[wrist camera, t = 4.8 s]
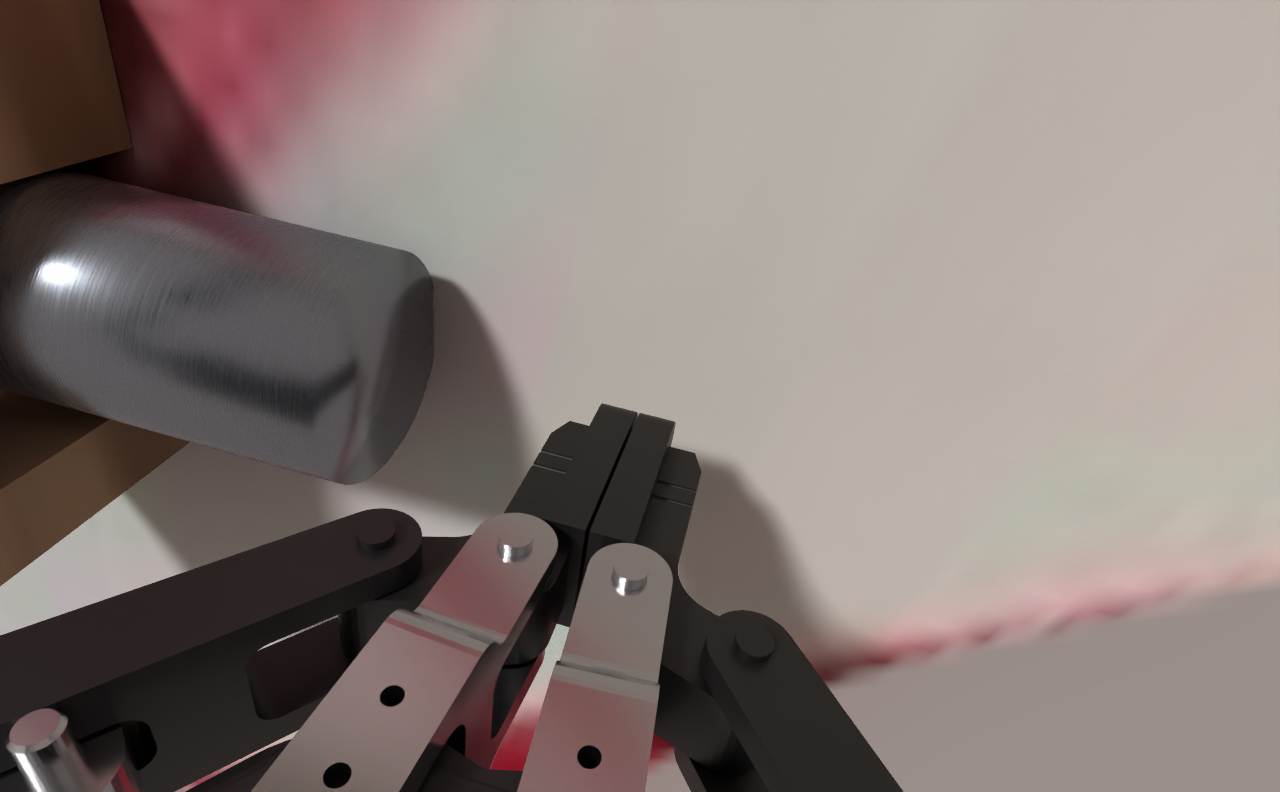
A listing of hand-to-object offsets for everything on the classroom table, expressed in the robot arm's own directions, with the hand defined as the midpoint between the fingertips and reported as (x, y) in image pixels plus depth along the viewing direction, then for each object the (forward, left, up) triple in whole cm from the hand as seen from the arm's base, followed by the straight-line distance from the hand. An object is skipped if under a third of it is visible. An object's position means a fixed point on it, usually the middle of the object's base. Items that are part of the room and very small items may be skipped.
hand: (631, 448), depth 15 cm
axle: (+12, 0, -2) cm, 12 cm away
